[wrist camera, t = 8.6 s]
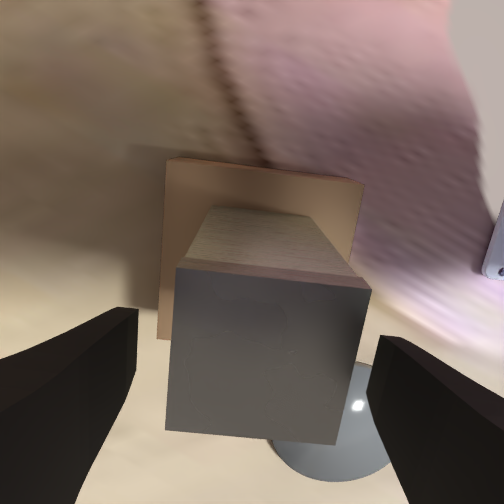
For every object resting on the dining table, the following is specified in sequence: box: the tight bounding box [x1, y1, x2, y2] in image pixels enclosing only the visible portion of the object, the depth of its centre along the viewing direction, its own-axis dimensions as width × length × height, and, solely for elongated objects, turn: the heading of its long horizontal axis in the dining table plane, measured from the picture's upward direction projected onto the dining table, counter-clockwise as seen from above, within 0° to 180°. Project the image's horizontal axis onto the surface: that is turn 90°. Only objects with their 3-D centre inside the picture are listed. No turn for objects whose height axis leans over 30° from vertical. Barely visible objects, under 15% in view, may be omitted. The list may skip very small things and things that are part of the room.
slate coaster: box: [272, 362, 391, 482], centre depth 24 cm, size 9×9×1 cm
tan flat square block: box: [157, 157, 364, 340], centre depth 20 cm, size 9×9×3 cm
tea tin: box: [165, 205, 372, 446], centre depth 14 cm, size 5×5×9 cm
